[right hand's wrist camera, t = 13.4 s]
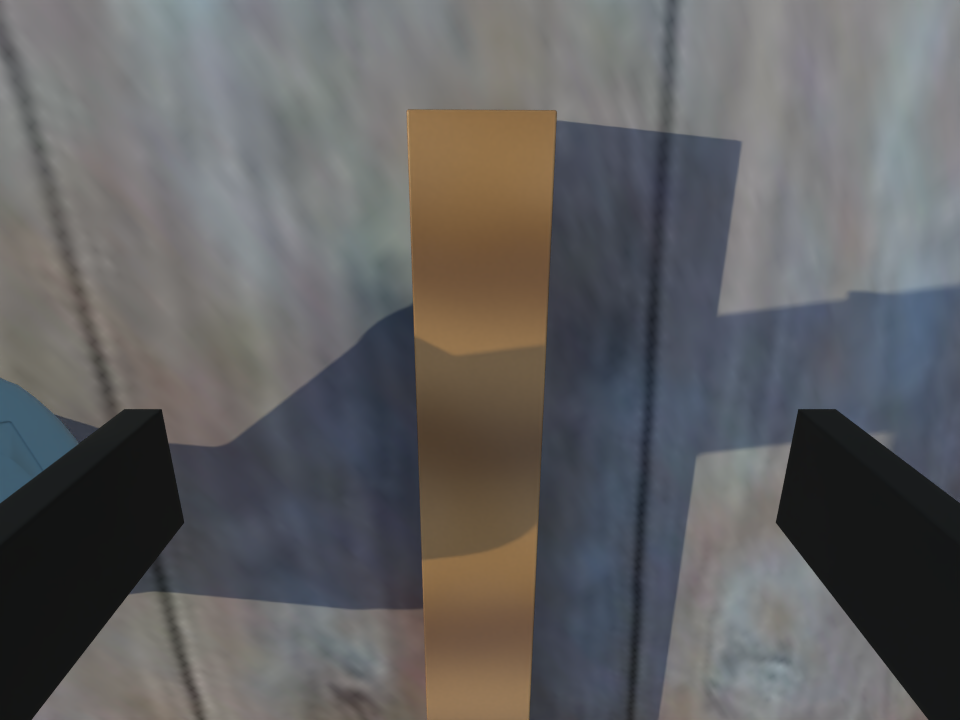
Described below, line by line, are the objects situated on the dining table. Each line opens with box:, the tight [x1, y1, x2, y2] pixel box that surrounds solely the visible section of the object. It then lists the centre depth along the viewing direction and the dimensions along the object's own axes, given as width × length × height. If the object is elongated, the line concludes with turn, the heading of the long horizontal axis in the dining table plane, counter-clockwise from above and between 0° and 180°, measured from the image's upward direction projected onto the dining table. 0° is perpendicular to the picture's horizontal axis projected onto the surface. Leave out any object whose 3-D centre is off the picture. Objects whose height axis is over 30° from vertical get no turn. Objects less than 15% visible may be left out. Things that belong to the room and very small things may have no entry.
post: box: [407, 109, 557, 720], centre depth 35 cm, size 50×6×8 cm, turn 0°
